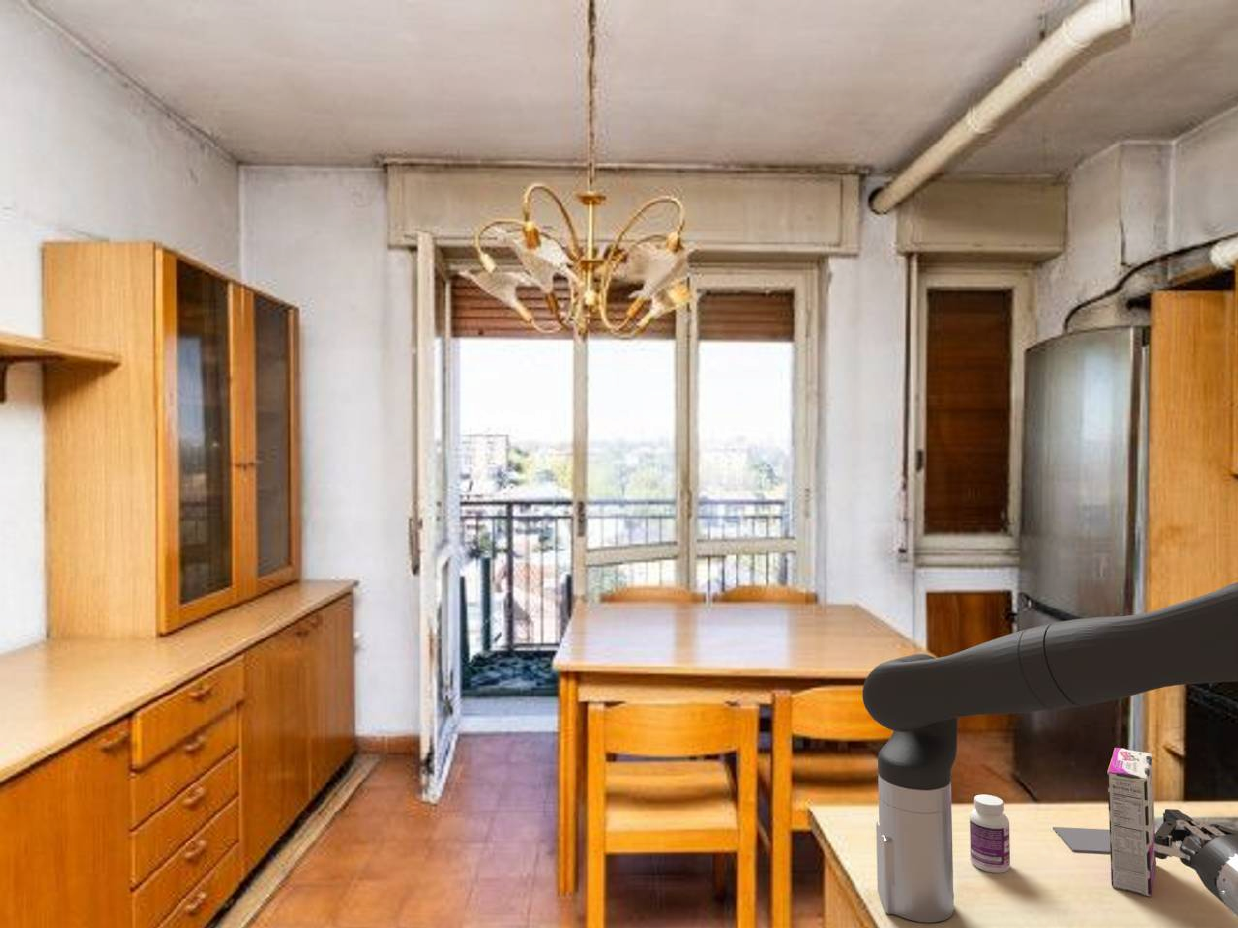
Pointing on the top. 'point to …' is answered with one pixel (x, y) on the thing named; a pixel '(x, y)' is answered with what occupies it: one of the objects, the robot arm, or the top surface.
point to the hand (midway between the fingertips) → (1170, 816)
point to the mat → (1085, 839)
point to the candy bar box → (1131, 821)
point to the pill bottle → (989, 835)
